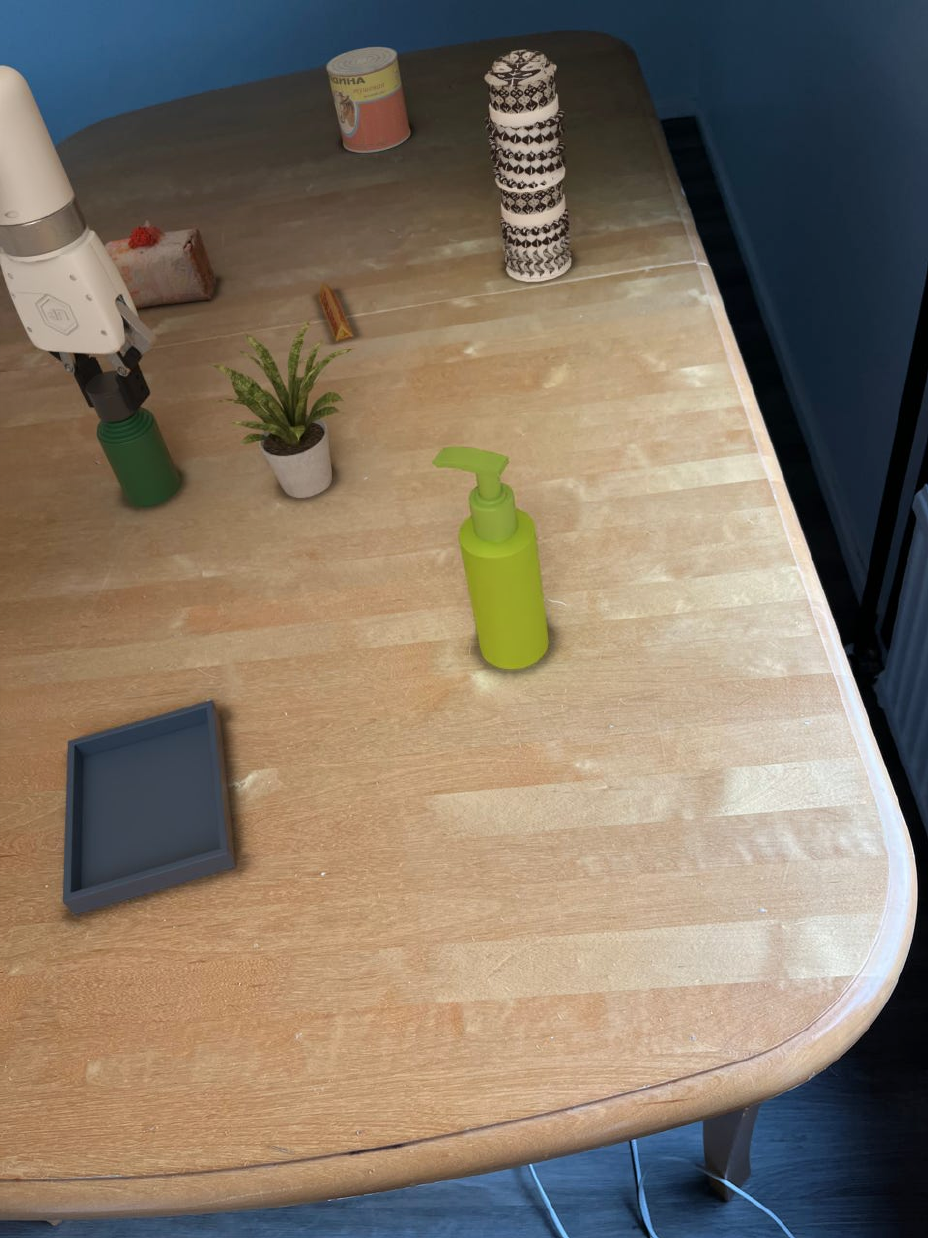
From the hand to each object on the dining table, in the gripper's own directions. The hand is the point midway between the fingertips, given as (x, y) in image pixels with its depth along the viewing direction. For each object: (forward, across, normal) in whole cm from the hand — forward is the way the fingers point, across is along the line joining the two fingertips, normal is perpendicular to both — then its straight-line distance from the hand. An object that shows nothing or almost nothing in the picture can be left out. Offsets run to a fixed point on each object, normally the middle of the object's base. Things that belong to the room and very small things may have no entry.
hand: (119, 399), depth 102 cm
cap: (+1, 0, -1) cm, 1 cm away
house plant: (+11, +18, +4) cm, 21 cm away
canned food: (+11, -8, +89) cm, 90 cm away
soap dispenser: (+11, +44, -15) cm, 48 cm away
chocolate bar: (+11, +7, +34) cm, 37 cm away
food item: (+11, -20, +38) cm, 45 cm away
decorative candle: (+11, +30, +48) cm, 58 cm away
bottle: (+11, 0, -1) cm, 11 cm away
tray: (+11, +20, -37) cm, 44 cm away
